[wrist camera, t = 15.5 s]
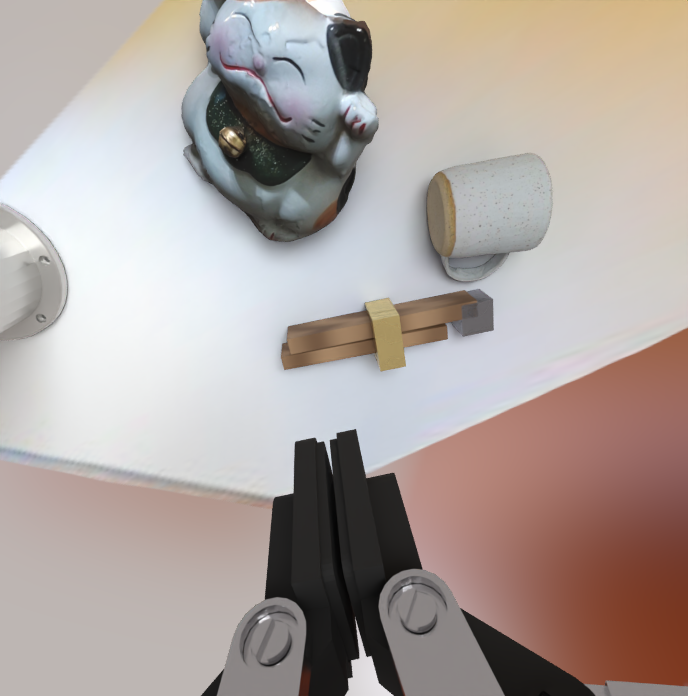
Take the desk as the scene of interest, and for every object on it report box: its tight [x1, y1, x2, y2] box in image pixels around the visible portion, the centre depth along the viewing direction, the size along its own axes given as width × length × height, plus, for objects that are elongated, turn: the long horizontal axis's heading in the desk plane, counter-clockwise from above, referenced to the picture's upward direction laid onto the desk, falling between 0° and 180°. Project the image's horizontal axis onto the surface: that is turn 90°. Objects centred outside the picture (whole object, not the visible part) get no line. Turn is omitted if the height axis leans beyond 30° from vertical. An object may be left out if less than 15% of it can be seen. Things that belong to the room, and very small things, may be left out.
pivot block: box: [452, 289, 494, 336], centre depth 39 cm, size 3×3×3 cm
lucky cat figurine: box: [182, 0, 379, 242], centre depth 27 cm, size 15×12×14 cm
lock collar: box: [365, 298, 406, 371], centre depth 38 cm, size 2×5×5 cm, turn 11°
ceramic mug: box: [427, 153, 552, 282], centre depth 34 cm, size 11×8×8 cm
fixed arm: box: [287, 290, 478, 355], centre depth 39 cm, size 18×2×3 cm, turn 101°
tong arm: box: [281, 323, 448, 370], centre depth 40 cm, size 16×1×3 cm, turn 99°
